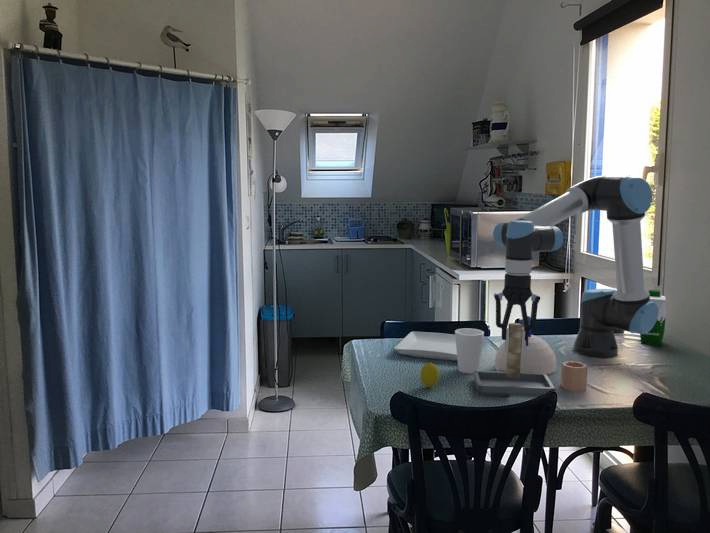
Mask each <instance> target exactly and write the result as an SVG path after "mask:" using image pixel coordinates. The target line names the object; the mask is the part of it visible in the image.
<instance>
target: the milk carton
mask: <svg viewBox="0 0 710 533" xmlns="http://www.w3.org/2000/svg"><path fill="white" fill-rule="evenodd" d="M648 292H649V294H650V301H653V302H654V303H656V305H657V306H658V318H657V321H656V323H655V324H654V326H653V328H652V329H651V330H650V331H649V332H647V333H645V334H639V336H640V344H641V345H643V344H644V345H653V346H662V345H663V344H662V342H663V338H664V335H665V328H666V316H667V299H666V296H665V295H661V291H660V290H658V289H649V290H648Z"/></svg>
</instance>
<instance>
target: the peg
mask: <svg viewBox="0 0 710 533" xmlns="http://www.w3.org/2000/svg"><path fill="white" fill-rule="evenodd" d="M522 327H523V323H518V322H510V323H509V322H508V326H507V328H508V329H509V347H508V352H507V368H506V371H505V372H506V377H508V378H513V379H517V378H520V363H521V343H522Z"/></svg>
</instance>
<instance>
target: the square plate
mask: <svg viewBox="0 0 710 533" xmlns="http://www.w3.org/2000/svg"><path fill="white" fill-rule="evenodd" d="M393 349H394V350H395V351H396V352H397V353H399V354H401V355H404V356H405V355H406V356H410V357H415V358H422V357H424V358H425V359H433V360H441V361H443V360H444V361H453V362H456V361H457V362H458V360H457V349H456V339H455V334H450V333H443V332H441V333H440V332H427V331H426V332H425V331H411V332H409V333H408V334H407V335H406V336H404V338H403V339H401V341H400V342H399V343H398V344H396V345H395V346H394V347H393Z"/></svg>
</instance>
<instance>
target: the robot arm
mask: <svg viewBox="0 0 710 533" xmlns="http://www.w3.org/2000/svg"><path fill="white" fill-rule="evenodd" d="M652 202H653V191H652V188H651V185H650V183H649V182H648V181H647V180H646V179H645V178H643V177H641V176H633V175H598V176H595V177H593V176H592V177H591V178H588V179H585V180H583V181H581V182H578V183H577V184H574V185H573V186H571V187H569V188H567V189H566V191H565V192H564V194H562V195H560V196H558V197H556V198H555V199H553V200H550V201H549V202H547V203H544V204H543V205H542V206H539V207H538V208H536V209H534V210H532V211H530V212H529V213H527V214H525V215H523V216H521V217H519V218H517V219H515V220H510V221H509V222H507V221H506V222H505V221H504V222H499V223H497V224H496V225H495V226H494V228H493V232H492V236H493V237H492V238H493V241H494V242H495V243H496V244H497V245H499V246H503V247H505V266H504V272H505V274H504V287H503V290H502V291H501V292H499V293H494V294H493V297H494V300H495V325H496V327H497V328H499V329H501V340H503V341H505V351H506V352H508V347H509V329H508V327H509V322H510V319H511V318H510V317H511V313H512V311H513V308H514V306H516V305H518V306H520V312H521V318H522V327H523V326H524V329H522V343H521V352H524V343H525V341H528V335H529V330H530V329H531V330H532V329H536V325H537V315H538V307H539V303H540V301H541V297H540V295H539V294H535V293H533V291H532V290H531V285H532V283H531V282H532V275H531V273H532V266H533V265H532V264H533V253H538V252H539V253H541V252H542V253H543V252H548V253H549V252H553V251H557V250H559V249H560V248H561V247H562V245H563V243H564V234H563V232H562V230H561V229H560V228H559V227H558V226H557V225H558V224H559V223H561V222H563V221H565V220H566V219H568V218H570V217H571V216H574V215H581V214H583V213H585V212H588V211H589V212H590V211H604V212H606V218H607V219H606V220H607V221H609V222H611V225H612V235H613V236H612V237H613V238H612V239H613V251H614V252H613V253H614V263H615V265H614V267H615V279H616V280H615V281H616V282H615V283H616V289H615V288H614V289H613V288H596V289H595V288H593V289H587V290H584V291H583V292H582V294H581V301H580V316H579V317H580V320H579V321H580V322H579V330H578V333H577V336H576V337H575V340H574V342H573V351H574V352H575V353H578V354H580V355H582V356H586V357H587V356H588V357H594V358H595V357H597V358H611V357H612V358H613V357H615V356H617V355H618V352H619V347H618V343H617V339H616V336H615V333H614V332H615V329H616V330H621V331H624V332H627V333H631V334H639V335H640V334H645V333H647V332H649V331H650V330H651V329H652V328H653V326H654V324H655V323H656V321H657V318H658V306H657V305H656V303H654V302H653V301H650V294H649V290H647V289H646V288H645V280H644V278H645V277H644V274H645V273H644V262H643V259H644V257H643V243H642V229H641V228H642V227H641V224H642V223H641V221H642V220H643V219H644V218H645V216H646V212H647V211H649V210H650V208H651V206H652V204H651V203H652ZM503 297H504V298H505V299H506V301H507V304H506V307H505V312H504V316H503V319H502V303H501V301H503ZM530 298H531V302H532V303H531V311H530V317H531V319H530V324H528V318H527V316H528V312H527V305H526V304H527V302H528V300H530Z"/></svg>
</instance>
